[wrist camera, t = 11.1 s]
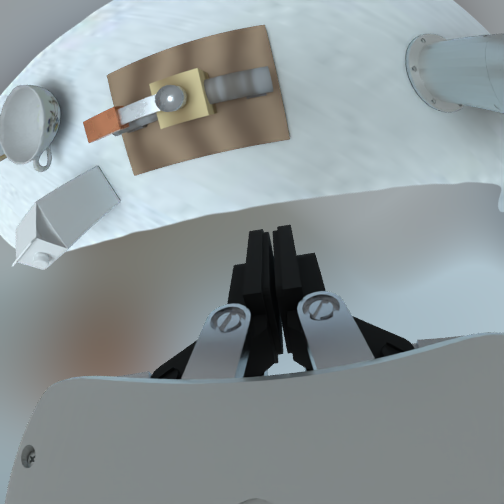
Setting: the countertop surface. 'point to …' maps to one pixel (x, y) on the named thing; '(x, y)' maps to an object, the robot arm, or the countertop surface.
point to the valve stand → (203, 99)
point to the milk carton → (63, 218)
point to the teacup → (29, 125)
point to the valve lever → (134, 112)
